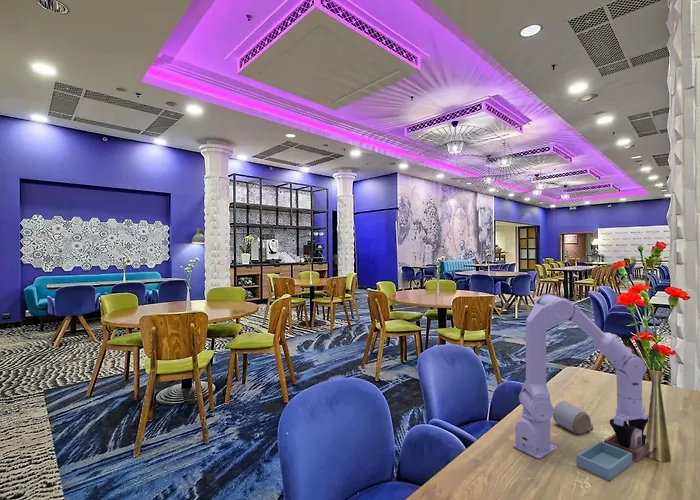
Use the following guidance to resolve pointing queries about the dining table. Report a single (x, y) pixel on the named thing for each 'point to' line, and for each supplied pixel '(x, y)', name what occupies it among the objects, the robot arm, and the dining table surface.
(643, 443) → the walnut tray
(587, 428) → the ceramic mug
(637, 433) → the letter block
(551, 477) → the dining table surface
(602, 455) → the teal tray
